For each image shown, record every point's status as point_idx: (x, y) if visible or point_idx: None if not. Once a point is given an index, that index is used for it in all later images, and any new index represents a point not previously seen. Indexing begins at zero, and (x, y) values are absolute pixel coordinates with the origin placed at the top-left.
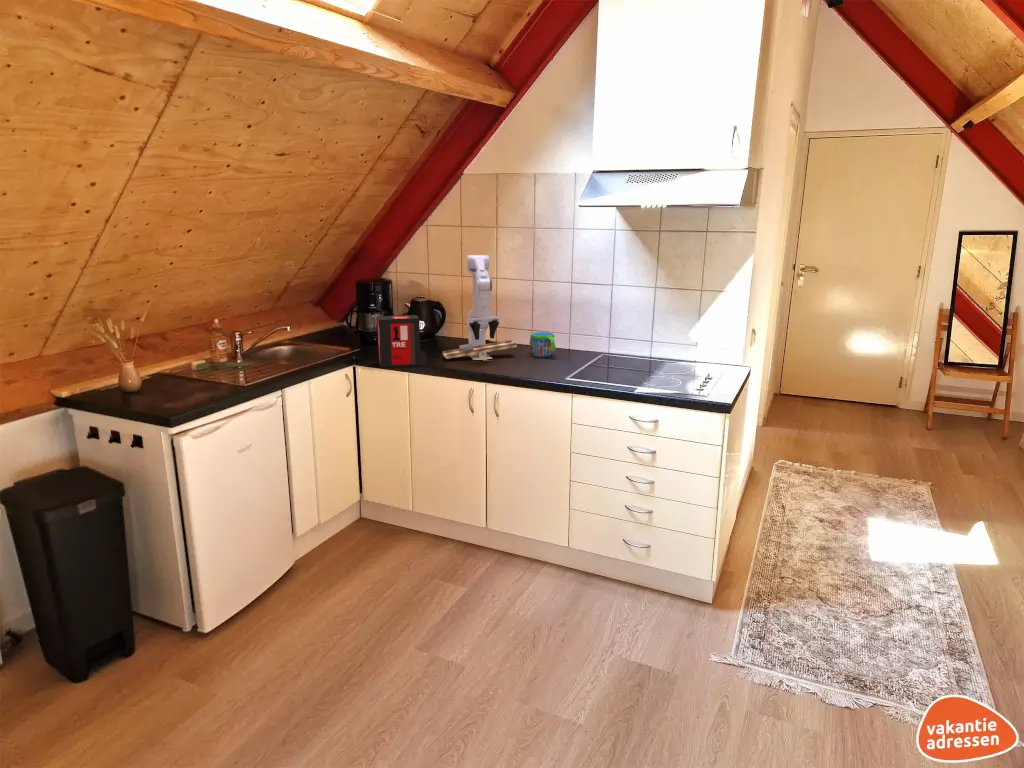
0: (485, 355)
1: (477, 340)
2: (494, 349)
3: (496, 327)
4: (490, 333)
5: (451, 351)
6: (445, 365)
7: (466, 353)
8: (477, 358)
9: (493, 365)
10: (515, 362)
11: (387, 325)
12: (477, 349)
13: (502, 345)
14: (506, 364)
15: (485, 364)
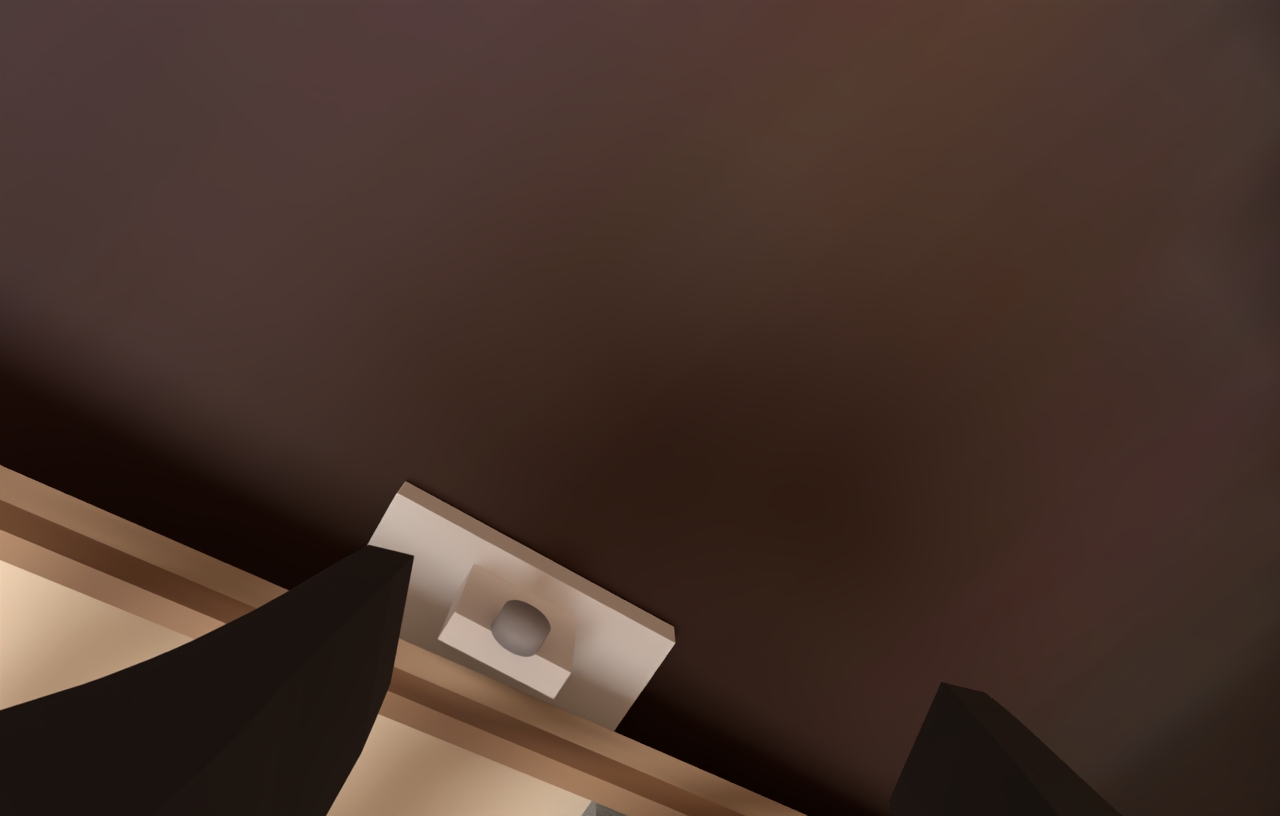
0: (476, 594)
1: None
2: (240, 588)
3: (42, 722)
4: (329, 775)
5: None
6: (1184, 732)
7: (747, 813)
8: (600, 645)
9: (704, 179)
10: (220, 25)
11: None
12: (556, 770)
13: (16, 534)
14: (474, 45)
15: (738, 339)
